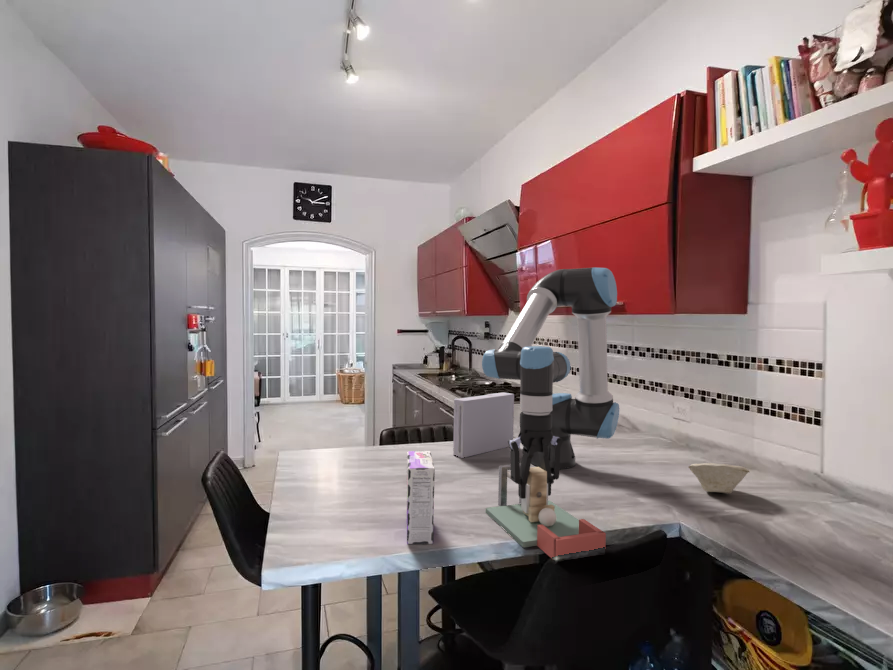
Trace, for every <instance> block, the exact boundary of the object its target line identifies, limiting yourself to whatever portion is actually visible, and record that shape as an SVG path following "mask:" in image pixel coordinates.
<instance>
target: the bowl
mask: <svg viewBox="0 0 893 670" xmlns="http://www.w3.org/2000/svg"><path fill="white" fill-rule="evenodd" d="M688 469H690V471H691V472H692V474H693V475H694V476H695V477H696V479H697V480H698V482H699V484H700V485H701V488H702V489H703V490H704V491H705V492H706V493H721V494H732V493H733V491H734V490H735V488H736V487H737V486H738V485H739V484H740V483H741V482H742V481H743V479H745V477H746V476H747V474H748V473H750V469H749V468H747V467H746V466H742V465H732V464H727V463H715V462H714V463H713V462H712V463H711V462H705V463H704V462H703V463H692V464H690V465H689V466H688Z"/></svg>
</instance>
